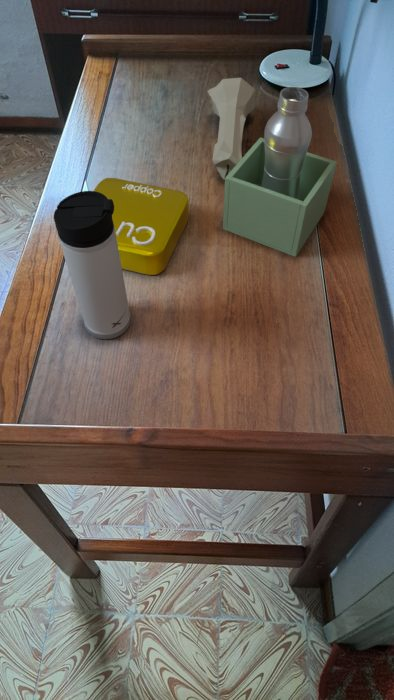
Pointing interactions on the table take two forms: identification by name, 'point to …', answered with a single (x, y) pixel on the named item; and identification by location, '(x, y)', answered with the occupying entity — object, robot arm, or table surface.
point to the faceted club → (230, 121)
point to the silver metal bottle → (287, 143)
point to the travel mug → (94, 262)
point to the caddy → (275, 202)
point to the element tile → (145, 222)
